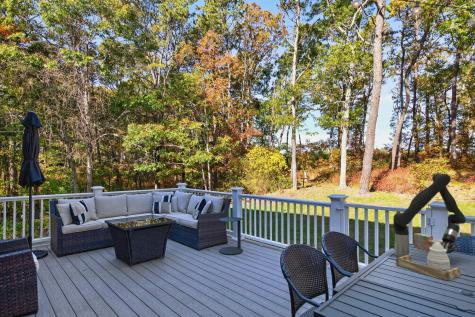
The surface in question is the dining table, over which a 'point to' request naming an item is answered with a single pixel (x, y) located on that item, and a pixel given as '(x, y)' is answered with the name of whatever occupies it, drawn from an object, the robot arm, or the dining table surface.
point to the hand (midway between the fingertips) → (442, 256)
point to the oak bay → (427, 269)
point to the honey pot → (438, 257)
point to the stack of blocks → (423, 241)
